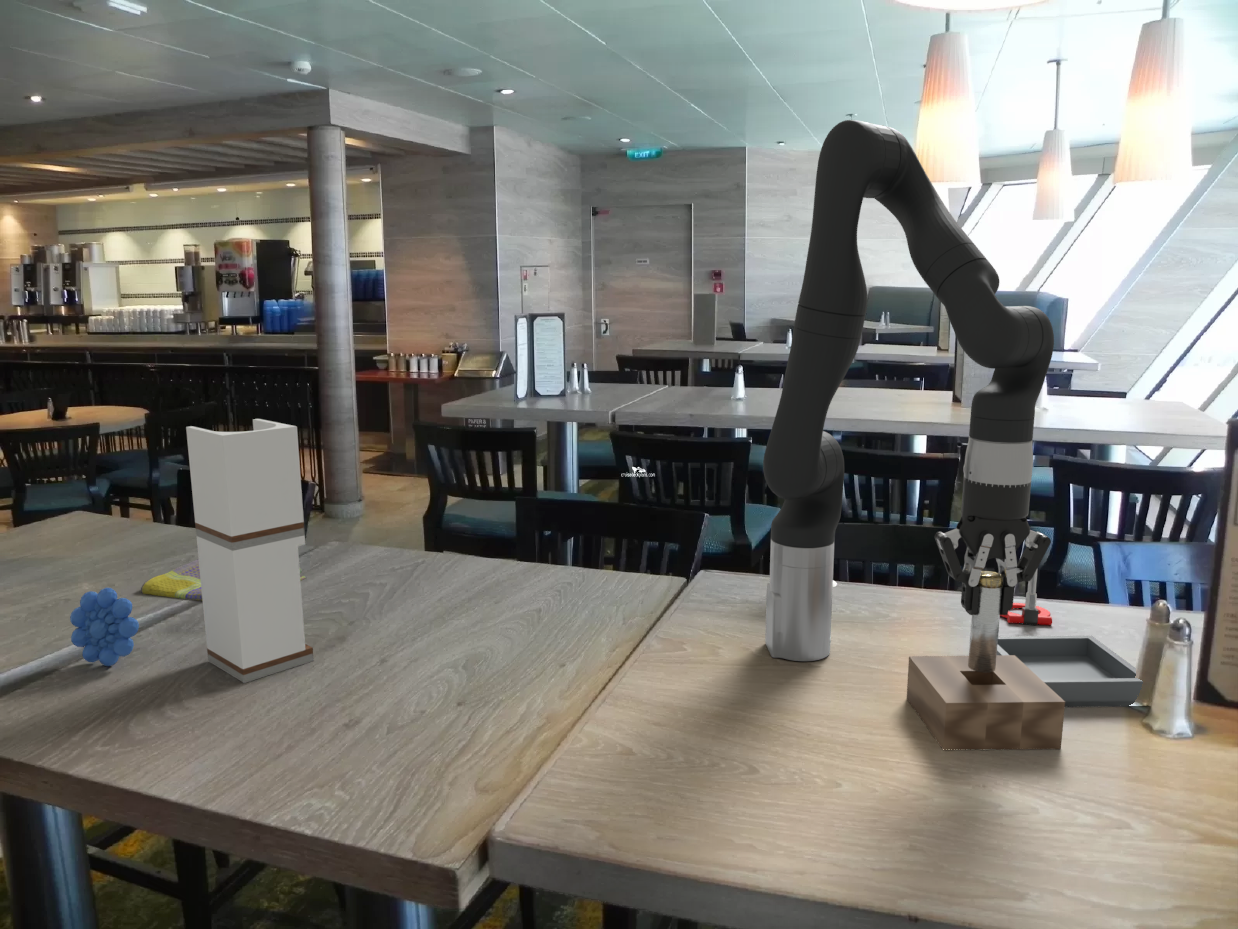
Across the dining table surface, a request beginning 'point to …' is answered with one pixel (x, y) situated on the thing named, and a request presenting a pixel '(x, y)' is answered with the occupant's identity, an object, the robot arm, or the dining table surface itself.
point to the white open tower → (250, 547)
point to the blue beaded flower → (103, 626)
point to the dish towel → (179, 583)
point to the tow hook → (1030, 608)
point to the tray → (1076, 669)
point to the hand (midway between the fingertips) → (986, 612)
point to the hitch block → (984, 704)
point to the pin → (986, 623)
